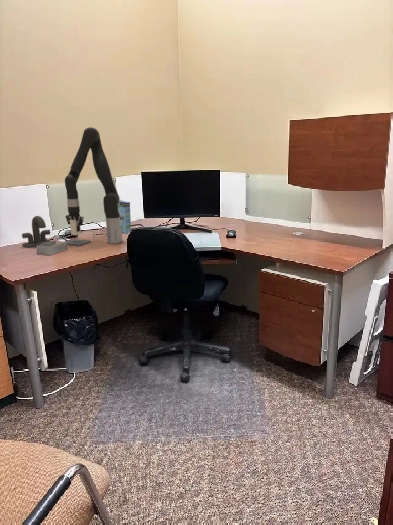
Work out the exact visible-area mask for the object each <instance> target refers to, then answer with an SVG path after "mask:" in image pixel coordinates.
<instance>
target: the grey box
mask: <svg viewBox="0 0 393 525" xmlns="http://www.w3.org/2000/svg"><path fill="white" fill-rule="evenodd" d="M35 248H36V254H37V255H43V254H44V256H53V255H55V254H58V253H61V252H64V251H67V250H68V245H67V242H66V241H63V242H61V243H60V242H59V243H57V241H56V240H55V239H53V240H50V242H47V243H43V244H40V245H37V246H36V247H35Z"/></svg>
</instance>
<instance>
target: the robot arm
mask: <svg viewBox="0 0 393 525" xmlns="http://www.w3.org/2000/svg"><path fill="white" fill-rule="evenodd" d="M90 151H91V156H92V158H91V159H92V164H93V168H94V171H95V174H96V176H97V178H98V180H99V182H100V183H101V184H102V187H103V189H104V193H105V196H103V201H102V204H103V212H104V215H105V226H106V239H107V244H111V245H117V244H120V243H123V242H124V241H123V240H124V239H123V232H122V228H120V214H119V212H118V203H119V201H120V200H121V199H120V195H119V193H118V191H117V189H116V186H115V182H114V179H113V175H112V172H111V168H110V165H109V162H108V159H107V157H106V154H105V152H104V149H103V144H102V141H101V135H100V131H99V130H97V129H96V128H95V127H92V126H91V127H90V126H88V127H87V128H85V129H84V130H83V133H82V137H81V140H80V144H79V148H78V150H77V152H76V154H75V156H74V158H73V160H72V163H71V165H70V170H69V172H68V174H67V176H65V178H64V186H65V190H66V199H67V201H66V202H67V205H66V206H67V212H68V214H67V215H65V218H66V222H67V224H68V225H70V220H75V222H76V225H77V226H76V227H77V232H79V231H80V228H81V226H83V223H84V216H81V215H80V212H81V211H80V209H81V208H80V200H79V191H78V190H77V183H78V180H79V179H80V176H81V173H82V171H83V169H84V166H85V164H86V162H87V158H88V155H89V152H90ZM77 220H78V221H77Z"/></svg>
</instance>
